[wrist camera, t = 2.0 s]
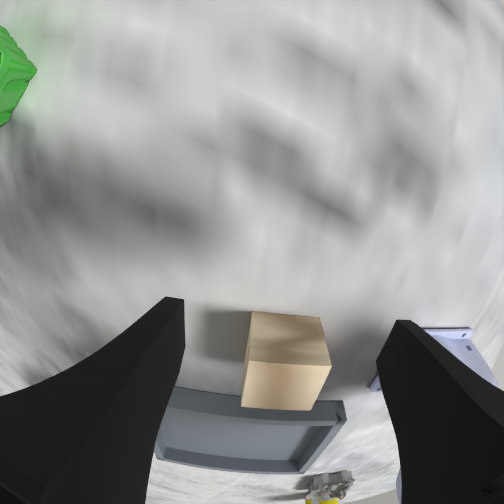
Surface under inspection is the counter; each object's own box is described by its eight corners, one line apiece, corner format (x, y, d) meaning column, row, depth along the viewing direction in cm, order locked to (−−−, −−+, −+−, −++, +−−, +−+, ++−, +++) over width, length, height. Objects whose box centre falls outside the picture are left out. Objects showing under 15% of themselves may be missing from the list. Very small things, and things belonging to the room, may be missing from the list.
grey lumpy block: (339, 484, 39) (341, 500, 35) (303, 487, 39) (303, 504, 35) (357, 467, 34) (360, 486, 31) (314, 472, 34) (316, 492, 31)
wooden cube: (319, 316, 20) (331, 366, 16) (304, 362, 22) (310, 410, 18) (252, 310, 20) (249, 360, 15) (244, 357, 22) (240, 406, 18)
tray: (342, 400, 24) (347, 420, 22) (302, 459, 31) (303, 474, 29) (142, 379, 24) (134, 398, 22) (160, 444, 31) (157, 459, 29)
